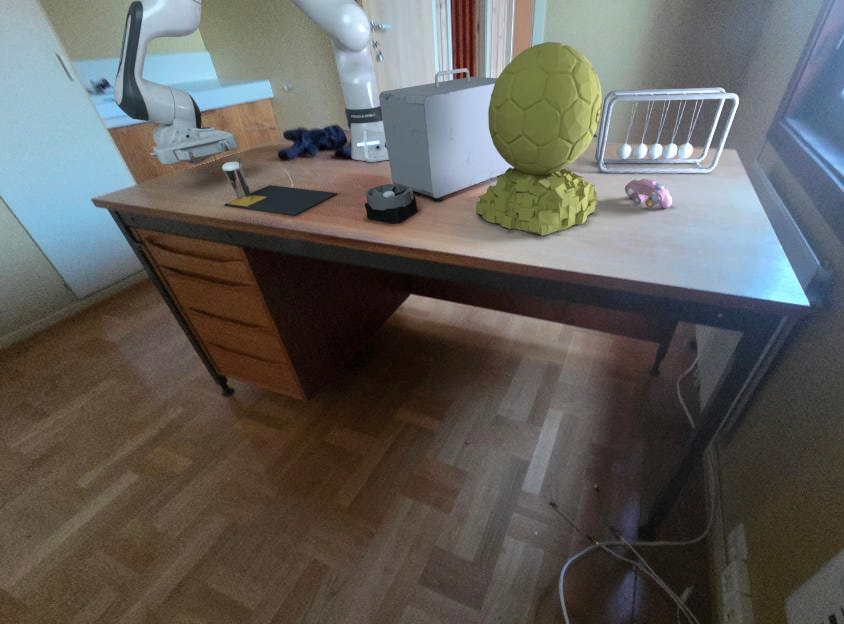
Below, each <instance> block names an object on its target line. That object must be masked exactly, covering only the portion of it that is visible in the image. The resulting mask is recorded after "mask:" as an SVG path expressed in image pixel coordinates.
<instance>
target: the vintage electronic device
mask: <svg viewBox="0 0 844 624" xmlns="http://www.w3.org/2000/svg"><path fill="white" fill-rule="evenodd" d="M462 73H465V76H466V77H463V78H462V77H461V78H456V79H450V80H443V81H439V77H442V76H447V75H454V74H462ZM497 79H498V77H481V76H470V71H469V69H468V68H466V67H463V68H456V69H449V70H448V69H447V70H441V71H437V72H436V73H435V76H434V82H432V83H426V84H419V85H413V86H407V87H401V88H395V89H389V90H383V91H381V92H379V101H380V107H381V114H382V120H383V126H384V132H385V139H386V145H387V151H388V157H389V160H388V163H389V169H390V176H391V182H392V184H403V185H406V186H408V187H412V188H413V193H414V192H415V193H418V194H421V195H424V196H427V197H430V198H433V201H434V202H442V201H444V197H445V196H447V195H450V194H453V193H455V192H458V191H461V190H463V189H467V188H469V187H472V186H474V185H477V184H480V183H483V182H485V181H488V180H491V179H493V178H496V177H498V176H501V175H504V174H505V172H506V170H507V169H509V168H510V167H511V168H512V169H514V167H513V166H511V165H510V164H508V163H507V162H506V161H505V160H504V159H503V158H502V156H501V155H500V154H499V153H498V151H497V149H496V148H495V146H494V144H493V141H492V138H491V135H490V131H489V120H488V110H489V104H490V99H491V94H492V91H493V88H494V85H495V82H496V80H497Z"/></svg>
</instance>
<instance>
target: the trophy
mask: <svg viewBox="0 0 844 624" xmlns="http://www.w3.org/2000/svg"><path fill="white" fill-rule="evenodd" d="M497 78H498V79H497V80H496V82H495V85H494V88H493V91H492V94H491V99H490V104H489V110H488V120H489V131H490V135H491V138H492V141H493V144H494V146H495V148H496V149H497V151H498V153H499V154H500V155H501V156H502V158H503V159H504V160H505V161H506V162H507V163H508V164H510V165H511V166H513V167H514V169H512V168H511V167H510V168H509V169H507V170H506V172H505V174H504V175H499V176H497V178H496V184H495V185H489V186H488V187H487V188H486V192H485V193H483V194H481V195H478V199H479V201H476V202H475V213H476V214H479V215H481V218H482V219H483V220H485V221H486V222H488V223H492V224H498V225H500V227H503V228H507V229H509V230H511V229H512V230H513V229H514V230H515V229H516V230H519V231H523V232H527V233H529V234H534V235H535V234H536V235H539V236H547V235H550V234H552V233H555V232H558V231H559V232H560V231H563V230H566V229H568V228H571V227H573V226H575V225H581V226H582V225H584V224H585V223H586V222H587V219H588V216H589V215H590V214H592V213H594V212H595V210H596V205H598V194H597V191H596V187H595V185H594V184H592V183H591V182H589V181H585V180H584V176H581V175H578V174H576V173H574V172H573V171H572V170H568V169H567V167H568V166H570V165H571V164H573V163H574V162H576V160H577V159H579V158H580V157H581V155H583V153H585V151H587V149H588V147H589V146H590V144H591V142H592V141H593V138H594V137H593V136H594V134H596V132H597V128H598V126H599V123H600V120H601V116H602V109H603V105H602V104H603V102H602V101H603V99H602V97H603V96H602V95H603V94H602V93H603V92H602V87H601V83H600V78H599V75H598V74H597V72H596V70H595V68H594V67H593V65H592V63H591V62H590V61H589V59H588V58H587V57H586V56H585V55H584V54H583V53H581V52H580V51H578V50H576V49H575V48H574V47H572V46H570V45H568V44H565V45H564V44H563V43H561V42H553V41H547V42H541V43H537V44H534V45H533V46H530V47H528V48H525V49H524V50H522V51H521V52H520V53H518V54H517V55H516V56H515V57H514V58H513V59H512V60H511V61H510V62H509V63H508V64H507V65H506V66H505V67H504V68H503V69H502V71H501V72H500V74H499V75H498V77H497Z"/></svg>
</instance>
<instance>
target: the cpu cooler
mask: <svg viewBox="0 0 844 624" xmlns="http://www.w3.org/2000/svg"><path fill="white" fill-rule="evenodd" d="M365 198H366V202H365V203H364V208H365V212H366V217H367V220H372V221H377V222H383V223H388V224H396V223H402V222H403V221H405V220H406V219H408V218H409V217H412V216H413V215H415V214H416V213H417V212H418V205H417V198H416V195H415V196H414V191H413V188H412V187H408V186H406V185H403V184H393V183H386V184H381V185H376V186H373V187H370V188H368V189H367V191H366V192H365Z"/></svg>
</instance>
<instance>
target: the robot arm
mask: <svg viewBox="0 0 844 624" xmlns="http://www.w3.org/2000/svg"><path fill="white" fill-rule="evenodd" d="M289 1H290V2H291V3H292V4H293V5H294V6H295V7H296V8H298V10H299V11H301V12H302V13H303V14H304V15H305V16H306V17H307V18H308V19H310V20H311V22H313V23H314V24H315V25H316V27H318V28H319V29H320V30H321V31H323V32H324V33H325V34H326V35H327V36H328V37H329V38H330V42H331V46H332V51H333V55H334V60H335V64H336V67H337V74H338V77H339V82H340V87H341V91H342V96H343V100H344V106H345V109H344V114H345V115H344V116H345V120H346V123H347V126H348V129H349V135H350V147H351V148H350V150H351V151H350V158H351V159H352V160H356V161H363V162H366V163H367V162H368V163H376V162H383V161H389V157H388V151H387V145H386V139H385V132H384V126H383V120H382V114H381V107H380V101H379V96H380V92H379V86H378V80H377V79H378V78H377V74H376V70H375V66H374V61H373V56H372V53H371V47H370V40H371V35H372V27H371V22H370V18H369V16H368V15H367V13H366V11H365V10H364V9H363V8H362V6H361V5H360V4H358V2H357V1H356V0H289ZM201 17H202V0H135V1H132V2H131V3H130V4H129V7H128V9H127V13H126V18H125V24H124V29H123V36H122V43H121V50H120V57H119V64H118V69H117V72H116V76H115V80H114V83H113V97H114V101H115V104H116V105H117V107H118V108H119V109H120V110H121V111H122V112H123V113H124V114H126V115H127V116H128V117H129V118H131V119H132V120H137V121H143V122H144V121H145V122H152V123H156V124H158V125H157V126H156V127H155V128H154V129H153V131H152V138H153V141H154V143H155V146H153V147H152V152H149V156H150V157H152V158H157V160H158V162H159V163H160V164H162V165H164V166H170V165H175V164H178V163H183V162H186V163H189V164H191V165H192V164H193V165H196V164H200V163H202V162H204V161H205V160H208V159H209V158H211V157H214V156H216V155H220V154H222V153H226V152H230V151H233V150H237V149H239V143H238V141H237V138H236V136H235V135H234V133H232V132H229V131H226V130H221V129H216V127H215V126H209V127H208V126H207V127H206V126H204V127H202V113H201V109H200V107H199V105H198V104H197V102H196V100H195V99H194V97H193V96H192V95H191V94H190V93H189V92H188V91H185V90H182V89H179V88H175V87H173V86H169V85H168V86H167V85H164V84H160V83H157V82H154V81H150V80H147V79H145V78H143V73H144V67H145V61H146V55H147V48H148V45H149V44H150V42H151V41H153V40H155V39H158V38H182V37H187V36H190V35H192V34H194V33H195V32H196V31H197V30H198V29H199V27H200V25H201V23H200V22H201ZM593 138H598V135H597V134H596V133H595V134H594V136H593Z"/></svg>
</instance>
